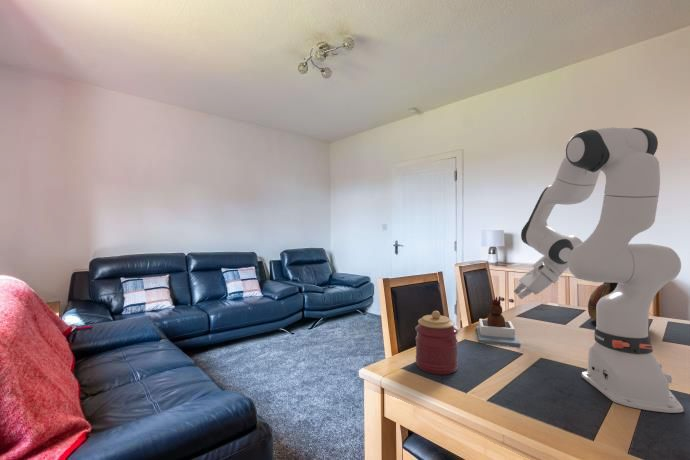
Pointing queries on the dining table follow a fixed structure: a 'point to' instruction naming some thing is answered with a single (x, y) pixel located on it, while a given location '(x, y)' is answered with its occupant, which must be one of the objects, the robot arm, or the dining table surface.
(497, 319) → the wooden figurine
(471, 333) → the dining table surface
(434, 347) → the canister
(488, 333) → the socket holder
